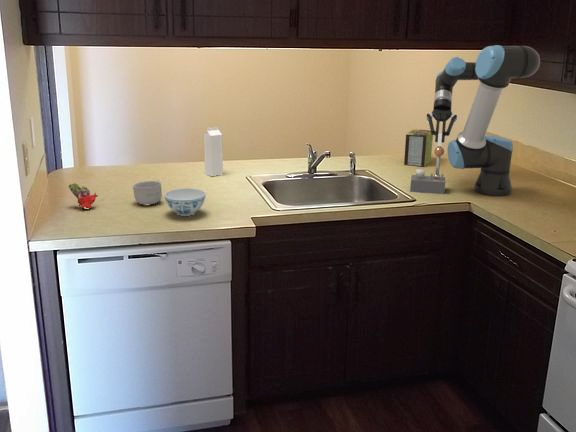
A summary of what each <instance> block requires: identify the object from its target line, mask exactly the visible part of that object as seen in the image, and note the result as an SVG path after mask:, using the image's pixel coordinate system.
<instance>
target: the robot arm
mask: <svg viewBox="0 0 576 432" xmlns="http://www.w3.org/2000/svg"><path fill="white" fill-rule="evenodd" d="M540 65H541V58H540V54H539V53H538V52H537V50H535V49H534V48H533V47H531V46H527V45H498V44H495V45H489V46H485V47H484V48H483V49H481V50H480V52H479V54H478V55H477V58H476V61H474V62H473V61H472V62H470V61H469V62H468V61H467V62H466V61H465V60H464V59H463V58H462V57H461V58H460V56H454V57H451V58H450V59H449V60H448V61H447V63H446V64H445V67H444V69H443V70H441V71H440V72H438V74H437V75H436V78H435V88H434V89H435V90H434V97H433V98H434V99H433V110H432V111H431V113H427V114H426V120H427V121H428V126H429V129H430V131H431V134H432V135H433V136H434V137H435V138H434V142H435V143H437V145H436V148H437V147H442V143H445V140H446V139H445V137H448V136H450V133H451V131H452V129H453V126H454V123H455V122H456V121H457V118H458V115H457V114H453V112H452V106H453V105H452V103H453V89H454V86H455V85H456V84H457V82H458V81H479V85H478V86H477V87H478V88H477V90H476V93H475V96H474V99H473V102H472V104H471V107H470V111H469V114H468V117H467V120H466V122H465V125H464V128H463V129H462V130H463V131H460V132H459V133H458V134H457V137H456V139H455V140H454V139H453V140H451V141H449V142H448V143H447V144H448V145H447V159H448V161H449V164H450V165H451V167H453V168H454V169H456V170H457V169H461V170H465V169H466V170H467V169H480V172H479V174H478V177H477V178H476V180H475V182H474V187H473V190H474V192H476V193H478V194H482V195H487V196H494V197H504V196H509V195H511V194H512V189H513V187H512V186H513V185H512V181H511V177H510V169H511V163H512V157H513V152H514V150H513V147H514V143H513V141H512V139H509V138H506V137H502V136H498V135H490V134H487V131H488V129H489V125H490V123H491V121H492V118H493V115H494V112H495V110H496V107H497V104H498V102H499V100H500V97H501V94H502V91H503V89H506V88H507V87H508V86H509V85H510V82H511V79H524V78H528V77H531V76H533V75H534V74H535V73H537V71H538V70H539V68H540ZM433 118H434V120H435V121H436V125H435V126H436V127H435V128H434V122H433ZM449 119H450V122H449V124H448V127H447V129H446V124H447V121H448V120H449ZM440 122H442V127H441V128H442V131H441V132H440ZM486 134H487V135H486Z"/></svg>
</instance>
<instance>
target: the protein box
mask: <svg viewBox="0 0 576 432" xmlns="http://www.w3.org/2000/svg"><path fill="white" fill-rule="evenodd" d="M433 138H434V135H432V134H431V130H426V129H418V128H412V130H410V131H408V132H407V133H406V134H405V145H404V159H403V162H404V163H403V166H409V167H410V166H411V167H412V166H413V167H421V168H425V167H426V166H427V165H428V164H429V163H430V162H431V161H432V151H433Z"/></svg>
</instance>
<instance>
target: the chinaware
mask: <svg viewBox="0 0 576 432" xmlns="http://www.w3.org/2000/svg"><path fill="white" fill-rule="evenodd" d="M206 193H207V192H205V190H203V189H199V188H189V187H188V188H186V187H185V188H175V189H171V190H168V191H166V192H165V193H164V195H163V196H164V200H165V202H166V204H167V206H168V208H169V209H170V210H172V211H173V212H174V213H176V215H177V214H178V215H181V216H189V217H191V216H190V215H193V216H194V215H196V212H197V211H198V210H199V209H201V208H202V206H203V205H204V203H205V199H206ZM178 215H177V216H178ZM181 216H180V217H181Z"/></svg>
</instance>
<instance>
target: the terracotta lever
mask: <svg viewBox="0 0 576 432" xmlns="http://www.w3.org/2000/svg"><path fill="white" fill-rule="evenodd" d="M433 151H434V155H436V165H435V173H433V176H434V178H436V179H440V177H441V174H440V166H441V157H442V156H443V155H444V154H445V149H444V147H442V146H441V147H437V146H436V147H435V149H434V150H433Z"/></svg>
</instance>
